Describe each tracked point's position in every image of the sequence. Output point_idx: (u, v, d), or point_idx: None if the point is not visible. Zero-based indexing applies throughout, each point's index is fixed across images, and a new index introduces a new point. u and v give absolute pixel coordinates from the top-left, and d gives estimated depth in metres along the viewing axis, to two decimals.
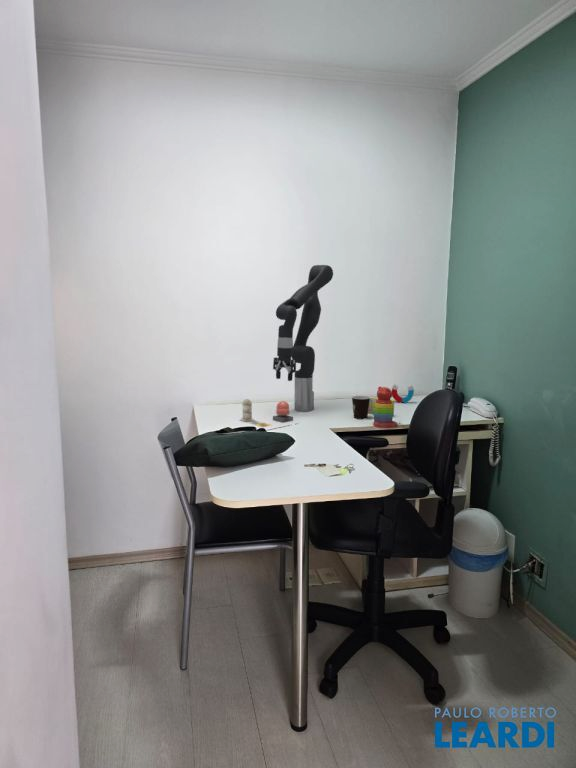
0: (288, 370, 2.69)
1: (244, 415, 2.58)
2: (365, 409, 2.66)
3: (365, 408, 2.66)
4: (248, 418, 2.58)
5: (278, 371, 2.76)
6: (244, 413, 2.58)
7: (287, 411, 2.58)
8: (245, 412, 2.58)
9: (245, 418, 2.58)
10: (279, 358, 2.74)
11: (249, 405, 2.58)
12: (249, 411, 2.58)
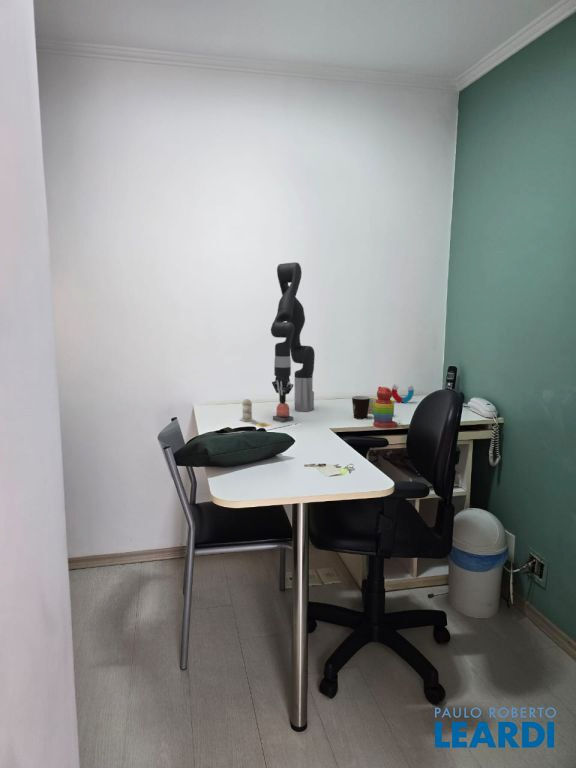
0: (282, 392, 2.57)
1: (244, 415, 2.58)
2: (365, 409, 2.66)
3: (365, 408, 2.66)
4: (248, 418, 2.58)
5: None
6: (244, 413, 2.58)
7: (287, 412, 2.58)
8: (245, 412, 2.58)
9: (245, 418, 2.58)
10: (276, 377, 2.59)
11: (249, 405, 2.58)
12: (249, 411, 2.58)
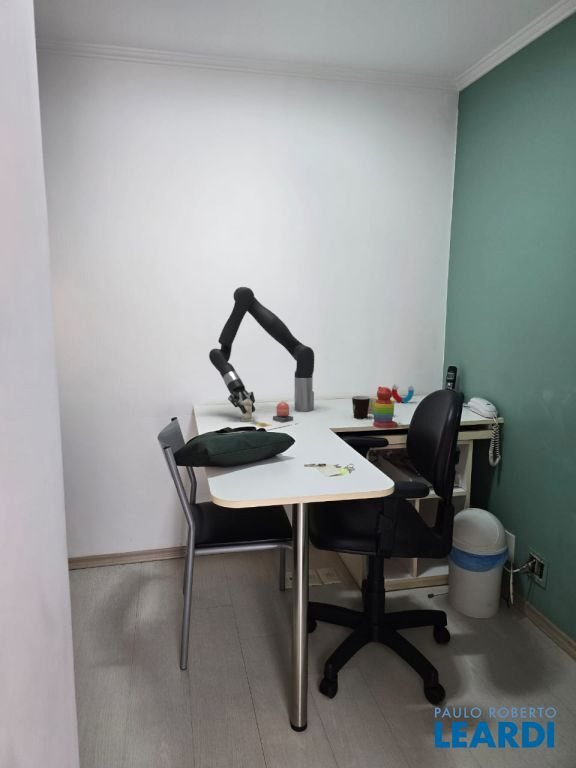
0: None
1: (244, 415, 2.58)
2: (365, 409, 2.66)
3: (365, 408, 2.66)
4: (248, 418, 2.58)
5: None
6: None
7: (287, 412, 2.58)
8: None
9: (245, 418, 2.58)
10: None
11: (249, 405, 2.58)
12: (249, 411, 2.58)
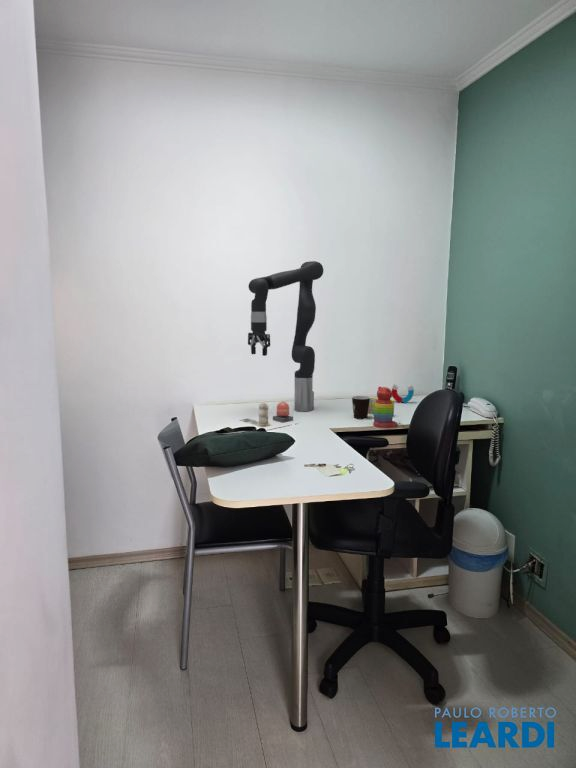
0: (262, 345, 2.64)
1: (260, 419, 2.50)
2: (365, 409, 2.66)
3: (365, 408, 2.66)
4: (264, 423, 2.50)
5: (253, 346, 2.71)
6: (260, 417, 2.49)
7: (287, 412, 2.58)
8: (262, 416, 2.49)
9: (261, 422, 2.50)
10: (253, 333, 2.69)
11: (266, 409, 2.49)
12: (265, 415, 2.49)
